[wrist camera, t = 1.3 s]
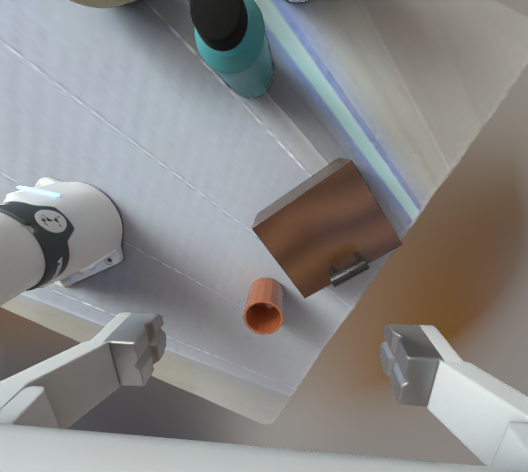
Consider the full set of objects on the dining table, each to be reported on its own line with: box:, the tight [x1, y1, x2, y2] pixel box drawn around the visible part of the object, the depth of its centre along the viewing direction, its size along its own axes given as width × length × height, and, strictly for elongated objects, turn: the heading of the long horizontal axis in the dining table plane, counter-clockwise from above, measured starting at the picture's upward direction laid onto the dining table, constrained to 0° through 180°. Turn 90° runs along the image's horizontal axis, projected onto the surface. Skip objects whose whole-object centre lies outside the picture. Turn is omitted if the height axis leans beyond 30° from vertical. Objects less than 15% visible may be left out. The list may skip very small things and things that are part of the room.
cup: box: [243, 278, 284, 334], centre depth 45 cm, size 6×6×8 cm
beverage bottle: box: [190, 0, 275, 99], centre depth 28 cm, size 6×7×20 cm
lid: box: [252, 160, 402, 298], centre depth 34 cm, size 14×16×5 cm
